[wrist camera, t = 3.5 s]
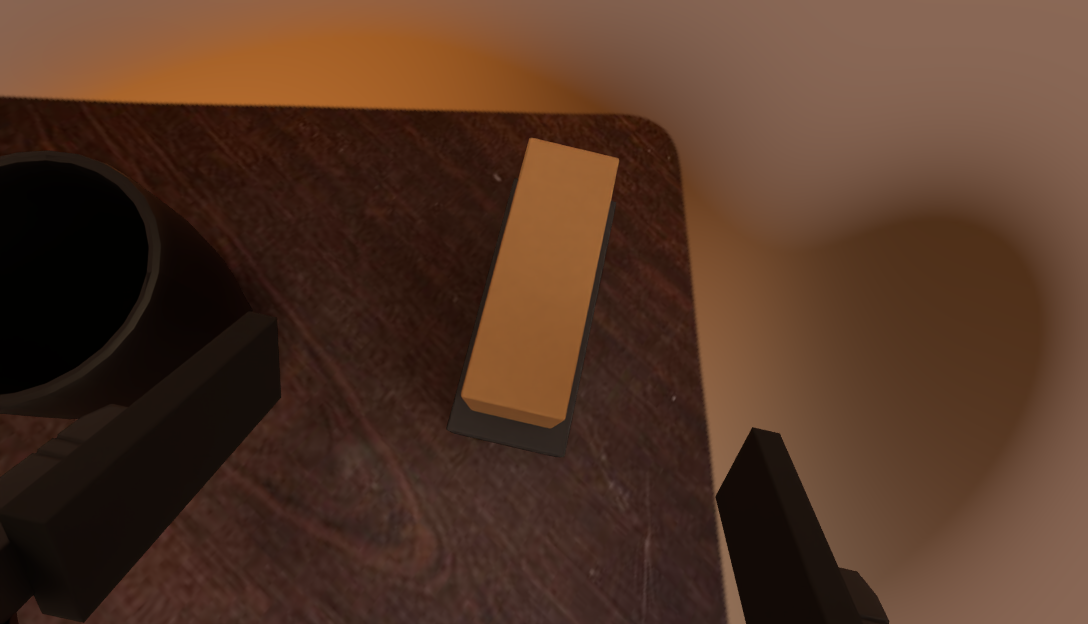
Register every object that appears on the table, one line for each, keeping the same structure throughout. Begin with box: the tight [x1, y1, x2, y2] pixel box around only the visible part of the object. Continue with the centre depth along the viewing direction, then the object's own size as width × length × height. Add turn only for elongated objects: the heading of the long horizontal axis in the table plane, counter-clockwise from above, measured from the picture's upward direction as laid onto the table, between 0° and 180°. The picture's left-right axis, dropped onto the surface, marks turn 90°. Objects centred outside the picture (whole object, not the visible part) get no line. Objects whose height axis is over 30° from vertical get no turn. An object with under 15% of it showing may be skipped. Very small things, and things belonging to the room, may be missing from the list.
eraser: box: [447, 138, 619, 457], centre depth 22 cm, size 5×12×8 cm, turn 167°
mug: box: [0, 151, 253, 419], centre depth 20 cm, size 8×12×10 cm
